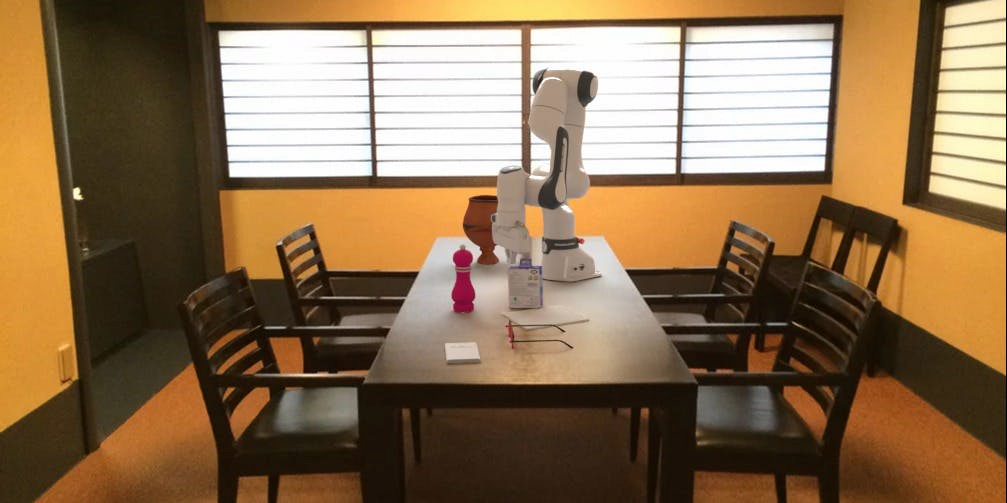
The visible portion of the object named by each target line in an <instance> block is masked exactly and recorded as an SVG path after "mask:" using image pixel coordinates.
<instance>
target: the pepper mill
mask: <svg viewBox="0 0 1007 503" xmlns="http://www.w3.org/2000/svg"><path fill="white" fill-rule="evenodd" d="M466 248H467V246H466V245H465V244H463V243H462V244H460V245H459V249H458V250H456V251H455V252H454V253H453V255H452V262H453V263H454V264H455V265H454V271H455V275H456V278H455V283H454V285H453V288H452V289H451V296H450V297H451V299H452V301H453V302H454V303H453V304H452V305H453V306H452V307H453V308H452V310H453V311H454V312H455V313H462V312H464V313H471V312H473V311H474V310H475V304H474V300H475V299H476V291H475V288H474V285H473V284H472V281H471V271H472V270H473V269H472V265H471V264H472V263H473V260H474V256H473V253H472V252H471V251H470V250H468V249H466Z"/></svg>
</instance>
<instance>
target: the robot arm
mask: <svg viewBox="0 0 1007 503" xmlns="http://www.w3.org/2000/svg"><path fill="white" fill-rule="evenodd" d="M598 90H599V79H598V77H597V75H596V74H595V72H593V71H590V70H586V69H584V70H583V69H577V68H570V67H562V68H561V67H555V68H554V67H553V68H552V67H542V68H539V69H538V70H537V71H536V72H535V74H534V76H533V78H532V91H533V93H534V98H533V100H532V103H531V107H530V111H529V115H528V127H529V129H530V131H531V132H532V134H533V135H534V136H535V137H537V138H538V139H539V140H541V141H543V142H545V143H546V144H548V146H549V149H550V162H549V164H548V163H547V164H542V165H539V166H537V167H536V168H534V170H533V171H532V172H531V174H530V173H529V172H526V171H525V169H524V167H523V166H521V165H506V166H504V167H501V169H499V171H498V175H497V181H496V196H497V198H498V206H497V213H495V214H493V215H491V221H492V222H493V224H492V236H493V241H494V243H495V244H497V246H499V247H502V248H504V254H505V256H506V262H507V263H508V264H511V265H515V264H516V263H517V256H518V254H519V255H528V254H530V253H531V236H530V235H531V234H530V231H529V229H528V228H527V227H526V226H527V225H526V214H527V213H526V206H529V207H534V208H536V207H537V208H541V212H542V213H541V214H542V226H543V227H542V229H543V230H542V236H541V252H542V255H541V263H540V266H542V278H543V279H545V280H549V281H559V282H561V281H563V282H567V283H569V282H570V283H571V282H577V281H578V282H579V281H582V280H587V279H592V278H597V277H601V276H602V272H601V271H600V270H599V269H596V265H595V259H594V258H593V255H592V256H591V255H590V254H589V253H588V252H587V251H585V250H584V249H583V248H582V247H581V246H580V244H581V245H584V243H586V242H585V238H582V237H577V236H576V215H575V212H574V211H573V210H572V208H571V207H570V204H569V201H570V200H571V201H572V200H579V199H582V198H584V197H585V196H586V195H587V194H588V192H589V190H590V187H591V181H590V176H589V175H588V174H587V172H586V170H585V168H584V163H583V157H582V147H583V140H584V139H583V138H584V130H585V126H586V125H585V124H586V113H587V112H586V107H587V106H588V104H591V103H592V101H594V100H595V98H596V96H597V95H598V94H597V93H598ZM568 200H569V201H568Z"/></svg>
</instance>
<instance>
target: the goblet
mask: <svg viewBox="0 0 1007 503" xmlns="http://www.w3.org/2000/svg"><path fill="white" fill-rule="evenodd" d="M497 206H498V198H497V195H491V194H481V195H474V196H470V197H469V198H468V206H467V207H466V208H467V209H466V211H465V212H464V213H465V214H464V216H463V219H462V228H463V232H464V234H465V236H466V237H467V238H468V240H469V241H470V242H471V243H473V244H474V245H475V246H477V247H479V251H480V252H481V254H480V255H479V256H478V258H477V259H476V262H477V263H478V264H481V265H494V264H493V263H496V264H497V262H498V263H499V262H500V259H499V257H498V256H497V255H496V254H495V253H494V251H495V250H496V247H497V246H498V245H497V244H495V243H494V241H493V236H492V224H493V222H492V221H491V215H493V214H495V213H497Z"/></svg>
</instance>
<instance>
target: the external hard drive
mask: <svg viewBox="0 0 1007 503" xmlns="http://www.w3.org/2000/svg"><path fill="white" fill-rule="evenodd" d="M444 350H445V360H446V364H447V363H453V364H465V363H464V362H468V363H469V362H476V363H481V362H482V361H481V356H480V352H479V347H478V344H477V341H476V342H473V341H469V342H446V343H444ZM468 363H467V364H468ZM469 364H470V363H469Z"/></svg>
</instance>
